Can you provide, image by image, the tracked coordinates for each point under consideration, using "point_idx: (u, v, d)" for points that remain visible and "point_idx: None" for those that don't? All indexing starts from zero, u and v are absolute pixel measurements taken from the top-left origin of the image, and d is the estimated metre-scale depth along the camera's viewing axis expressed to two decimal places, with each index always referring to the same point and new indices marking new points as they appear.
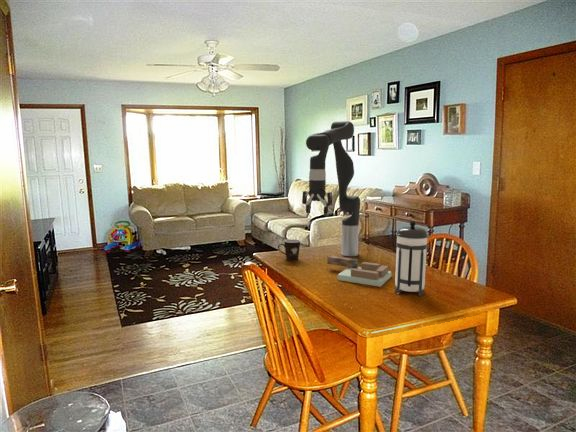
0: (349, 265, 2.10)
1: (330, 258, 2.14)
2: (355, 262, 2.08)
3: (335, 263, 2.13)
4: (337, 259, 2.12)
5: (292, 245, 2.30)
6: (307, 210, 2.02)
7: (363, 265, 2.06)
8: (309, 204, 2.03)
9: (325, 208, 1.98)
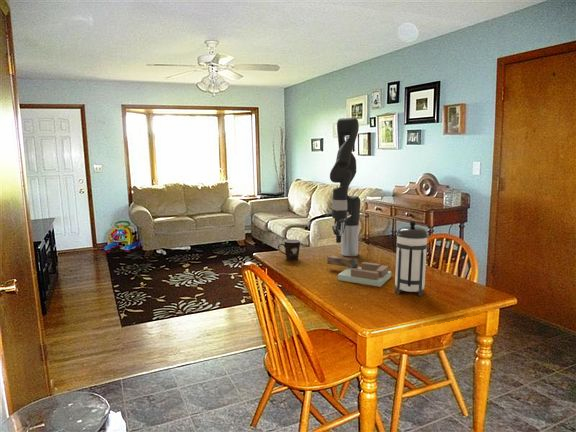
0: (349, 265, 2.10)
1: (330, 258, 2.14)
2: (355, 262, 2.08)
3: (335, 263, 2.13)
4: (337, 259, 2.12)
5: (292, 245, 2.30)
6: (340, 240, 2.19)
7: (363, 265, 2.06)
8: None
9: None
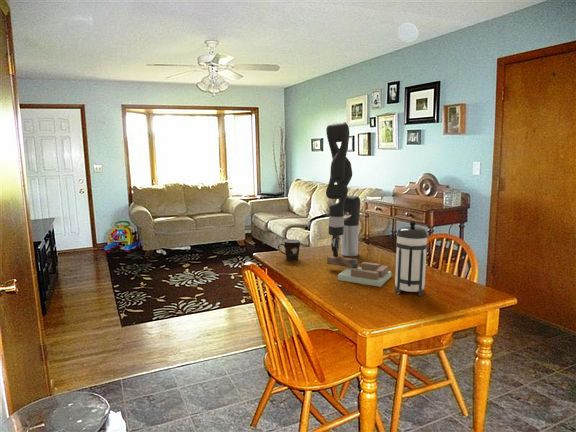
0: (349, 265, 2.10)
1: (330, 258, 2.14)
2: (355, 262, 2.08)
3: (335, 263, 2.13)
4: (337, 259, 2.12)
5: (292, 245, 2.30)
6: (337, 256, 2.17)
7: (363, 265, 2.06)
8: None
9: None
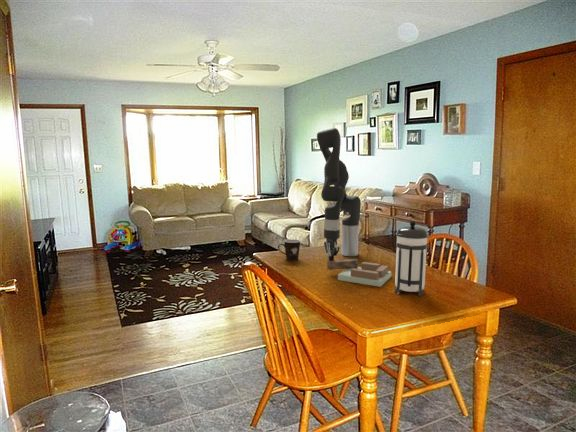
0: (352, 266, 2.08)
1: (332, 263, 2.05)
2: (357, 262, 2.09)
3: (338, 267, 2.06)
4: (340, 263, 2.06)
5: (292, 245, 2.30)
6: (333, 260, 2.09)
7: (363, 265, 2.06)
8: None
9: None
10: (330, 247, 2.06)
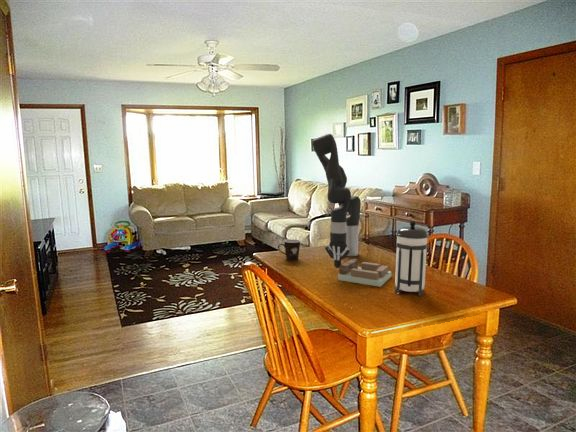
0: (355, 266, 2.08)
1: (346, 267, 1.99)
2: None
3: (349, 270, 2.01)
4: (350, 265, 2.02)
5: (292, 245, 2.30)
6: None
7: (363, 265, 2.06)
8: None
9: None
10: (340, 251, 1.99)
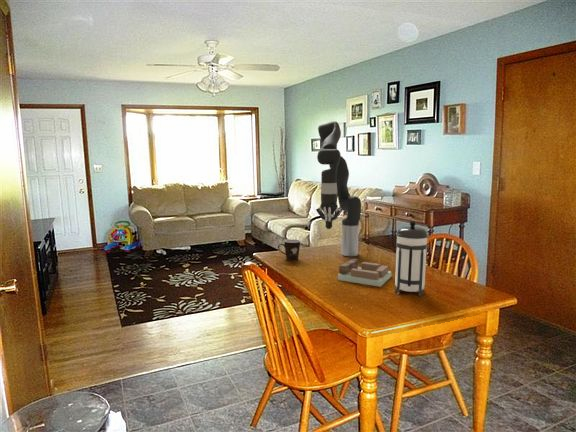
0: (355, 266, 2.08)
1: (346, 267, 1.99)
2: None
3: (349, 270, 2.01)
4: (350, 265, 2.02)
5: (292, 245, 2.30)
6: None
7: (363, 265, 2.06)
8: None
9: None
10: (331, 211, 2.02)
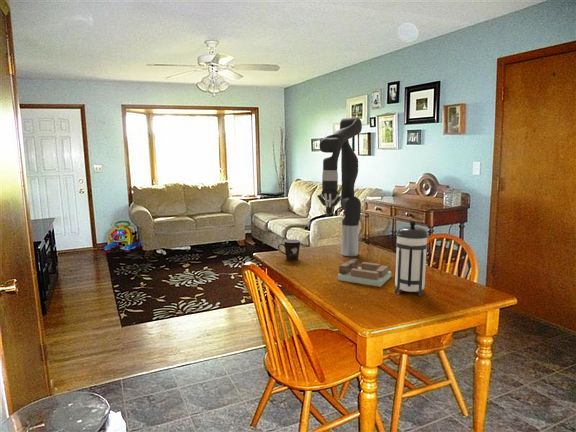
0: (355, 266, 2.08)
1: (346, 267, 1.99)
2: None
3: (349, 270, 2.01)
4: (350, 265, 2.02)
5: (292, 245, 2.30)
6: None
7: (363, 265, 2.06)
8: None
9: None
10: (331, 198, 2.11)
